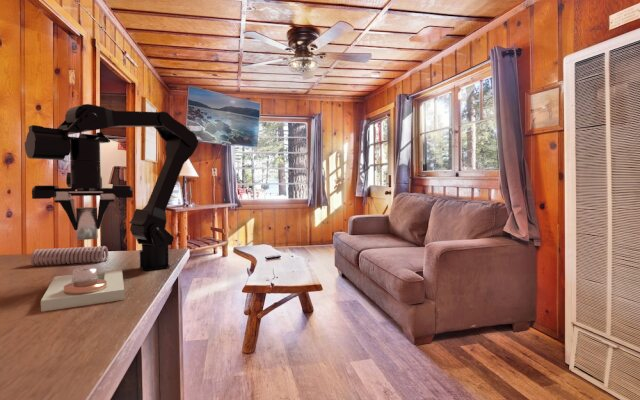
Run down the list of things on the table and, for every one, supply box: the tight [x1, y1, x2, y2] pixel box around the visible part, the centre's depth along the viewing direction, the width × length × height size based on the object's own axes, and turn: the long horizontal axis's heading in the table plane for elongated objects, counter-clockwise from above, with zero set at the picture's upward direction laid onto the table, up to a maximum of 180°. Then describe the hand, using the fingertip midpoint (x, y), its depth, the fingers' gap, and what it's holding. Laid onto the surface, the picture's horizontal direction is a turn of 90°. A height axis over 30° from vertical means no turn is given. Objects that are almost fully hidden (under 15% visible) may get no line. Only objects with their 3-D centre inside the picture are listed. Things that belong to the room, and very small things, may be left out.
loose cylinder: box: [75, 206, 99, 241], centre depth 81 cm, size 4×4×7 cm
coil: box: [30, 245, 109, 267], centre depth 99 cm, size 5×5×18 cm
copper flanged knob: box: [64, 266, 107, 295], centre depth 69 cm, size 7×7×4 cm
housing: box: [40, 268, 125, 312], centre depth 74 cm, size 13×18×2 cm
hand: (87, 229), depth 81 cm, fingers closed on loose cylinder, 4 cm apart
